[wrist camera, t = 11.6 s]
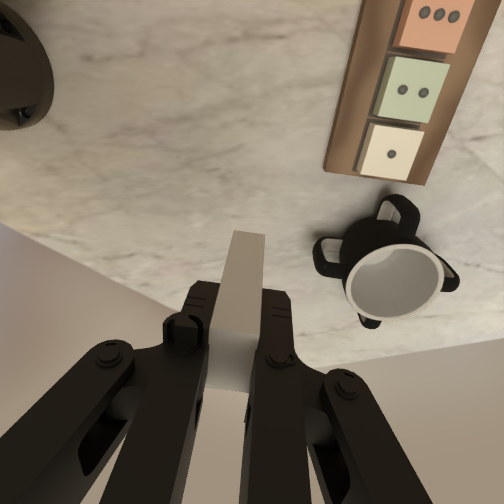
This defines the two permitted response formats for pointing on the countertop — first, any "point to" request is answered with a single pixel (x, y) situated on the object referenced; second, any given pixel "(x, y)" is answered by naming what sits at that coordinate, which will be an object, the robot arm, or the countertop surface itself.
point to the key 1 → (389, 151)
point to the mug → (386, 265)
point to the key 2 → (410, 89)
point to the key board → (370, 78)
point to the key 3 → (432, 25)
